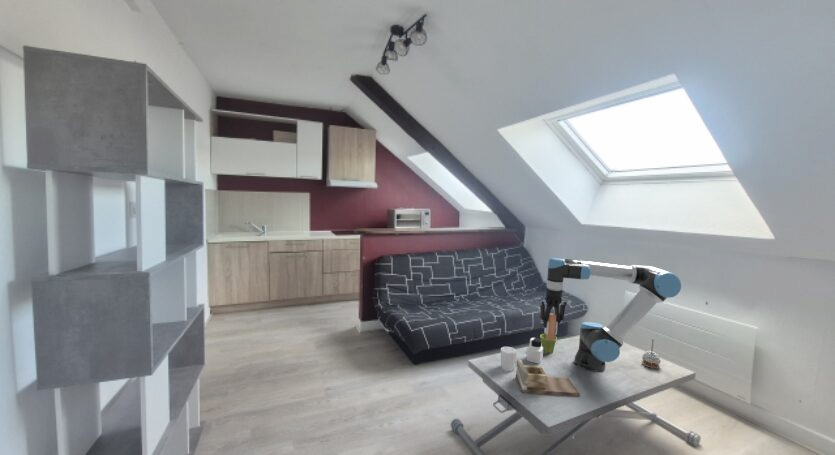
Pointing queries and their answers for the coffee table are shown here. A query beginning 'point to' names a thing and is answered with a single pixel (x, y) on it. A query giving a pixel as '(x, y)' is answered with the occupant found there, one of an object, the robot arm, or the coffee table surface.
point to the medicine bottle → (535, 351)
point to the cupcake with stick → (651, 358)
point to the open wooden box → (536, 377)
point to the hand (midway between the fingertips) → (550, 333)
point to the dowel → (551, 327)
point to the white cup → (508, 358)
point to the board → (552, 386)
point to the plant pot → (547, 344)
